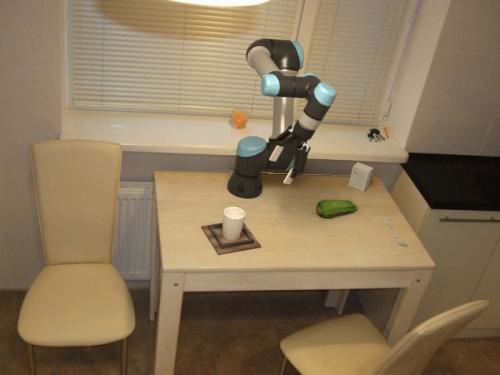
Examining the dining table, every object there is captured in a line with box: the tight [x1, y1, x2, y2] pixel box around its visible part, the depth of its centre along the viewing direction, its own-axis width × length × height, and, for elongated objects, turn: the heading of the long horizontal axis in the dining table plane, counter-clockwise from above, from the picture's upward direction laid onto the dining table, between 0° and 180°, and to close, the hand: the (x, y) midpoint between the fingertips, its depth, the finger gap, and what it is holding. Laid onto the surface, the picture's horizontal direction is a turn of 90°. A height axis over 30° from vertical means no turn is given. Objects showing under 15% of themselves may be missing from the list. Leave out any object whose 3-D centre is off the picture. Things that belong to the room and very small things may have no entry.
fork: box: [383, 215, 408, 246], centre depth 223 cm, size 3×24×2 cm, turn 9°
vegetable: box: [315, 198, 359, 218], centre depth 226 cm, size 7×7×20 cm
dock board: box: [200, 222, 262, 256], centre depth 201 cm, size 17×17×2 cm
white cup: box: [222, 206, 246, 240], centre depth 199 cm, size 8×8×10 cm
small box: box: [347, 161, 374, 193], centre depth 248 cm, size 8×6×10 cm
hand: (279, 171), depth 201 cm, fingers open, 13 cm apart
